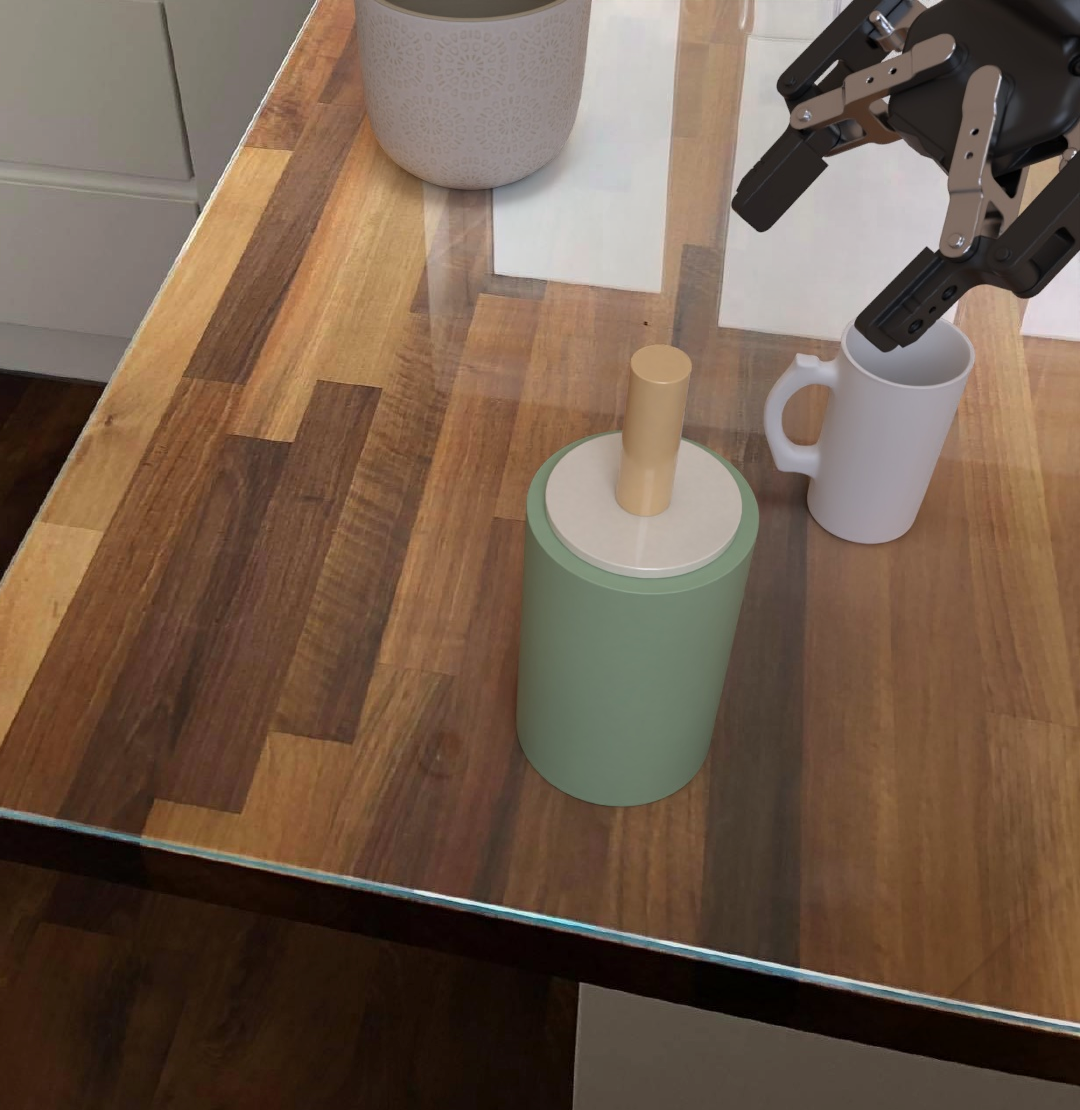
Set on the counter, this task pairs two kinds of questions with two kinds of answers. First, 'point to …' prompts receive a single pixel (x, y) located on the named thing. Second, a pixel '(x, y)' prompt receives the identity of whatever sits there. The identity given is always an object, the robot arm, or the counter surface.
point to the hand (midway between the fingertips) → (804, 277)
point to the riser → (623, 660)
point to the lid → (646, 483)
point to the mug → (873, 428)
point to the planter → (472, 84)
